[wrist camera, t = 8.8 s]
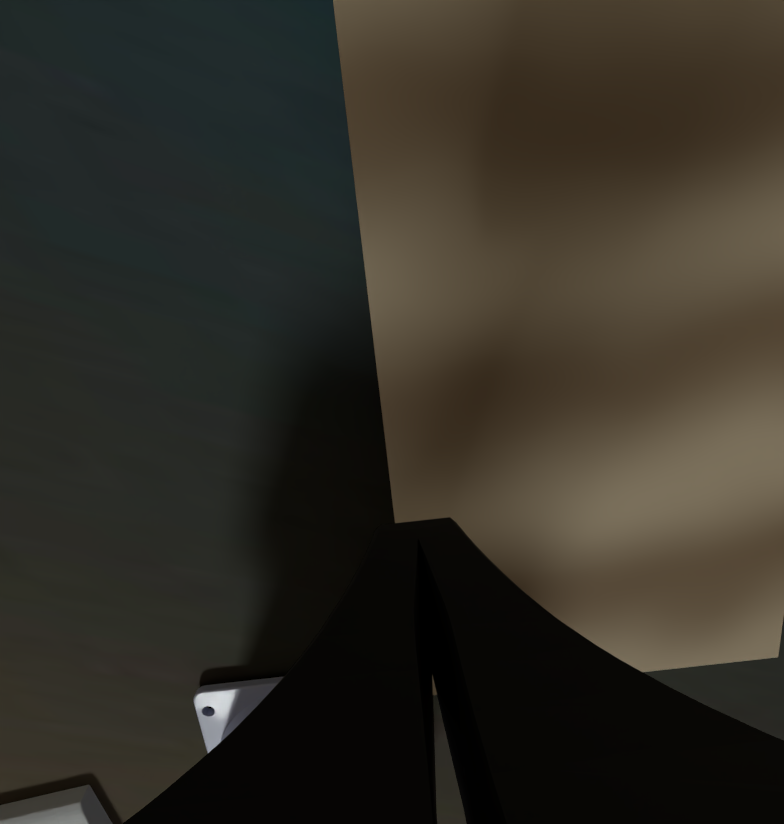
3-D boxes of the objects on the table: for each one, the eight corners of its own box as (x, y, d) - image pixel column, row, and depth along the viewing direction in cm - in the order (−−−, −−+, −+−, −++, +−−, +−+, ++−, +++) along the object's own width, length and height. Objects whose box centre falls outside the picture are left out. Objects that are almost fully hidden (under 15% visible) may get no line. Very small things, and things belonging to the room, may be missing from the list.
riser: (707, 584, 22) (778, 657, 18) (408, 617, 22) (415, 697, 18) (755, -9, 16) (877, -86, 12) (340, 38, 16) (330, -25, 12)
